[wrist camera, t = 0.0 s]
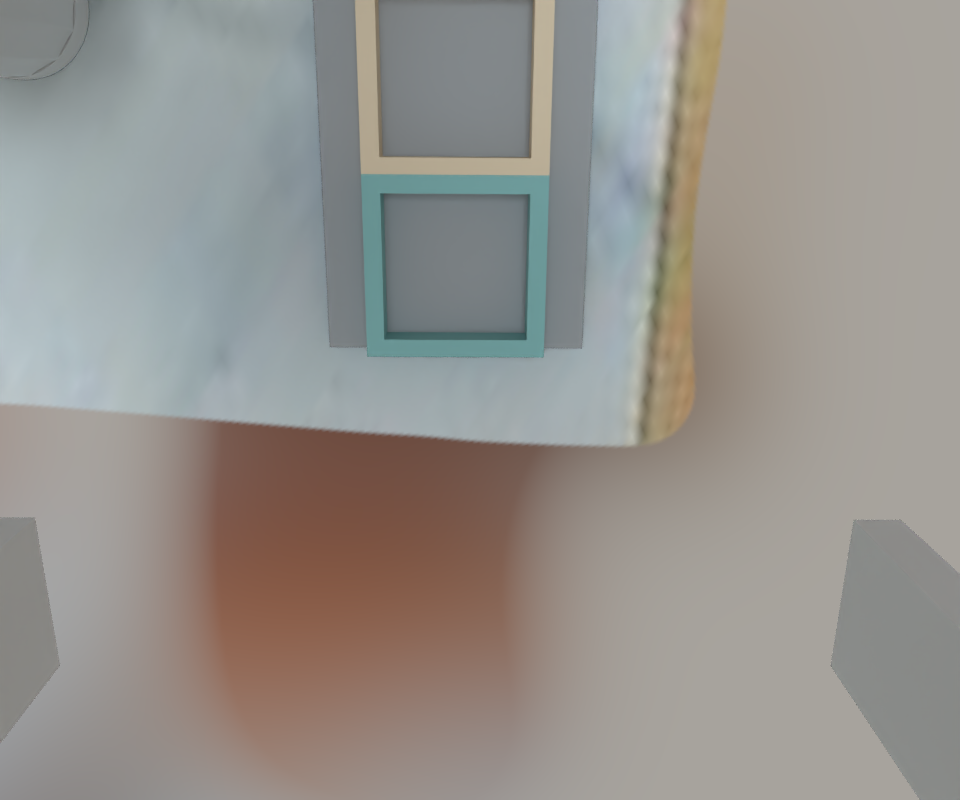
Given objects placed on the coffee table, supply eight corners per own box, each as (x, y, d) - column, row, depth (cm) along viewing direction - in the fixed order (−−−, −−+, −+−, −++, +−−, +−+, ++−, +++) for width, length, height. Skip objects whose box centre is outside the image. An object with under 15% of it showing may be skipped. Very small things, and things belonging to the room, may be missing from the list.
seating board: (316, -23, 36) (304, -34, 34) (595, -20, 36) (604, -31, 34) (333, 343, 41) (324, 356, 39) (579, 344, 41) (586, 357, 39)
